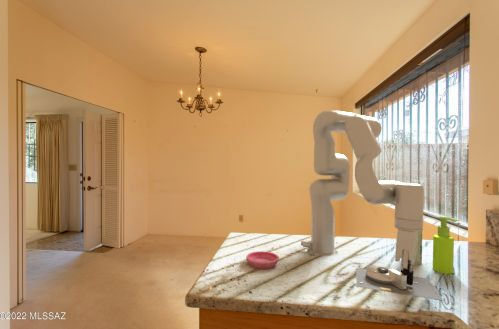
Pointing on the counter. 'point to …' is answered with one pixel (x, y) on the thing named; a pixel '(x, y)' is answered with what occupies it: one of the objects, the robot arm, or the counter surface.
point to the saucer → (262, 259)
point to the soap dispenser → (443, 248)
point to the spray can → (419, 250)
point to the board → (419, 288)
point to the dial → (387, 276)
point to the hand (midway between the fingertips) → (406, 283)
